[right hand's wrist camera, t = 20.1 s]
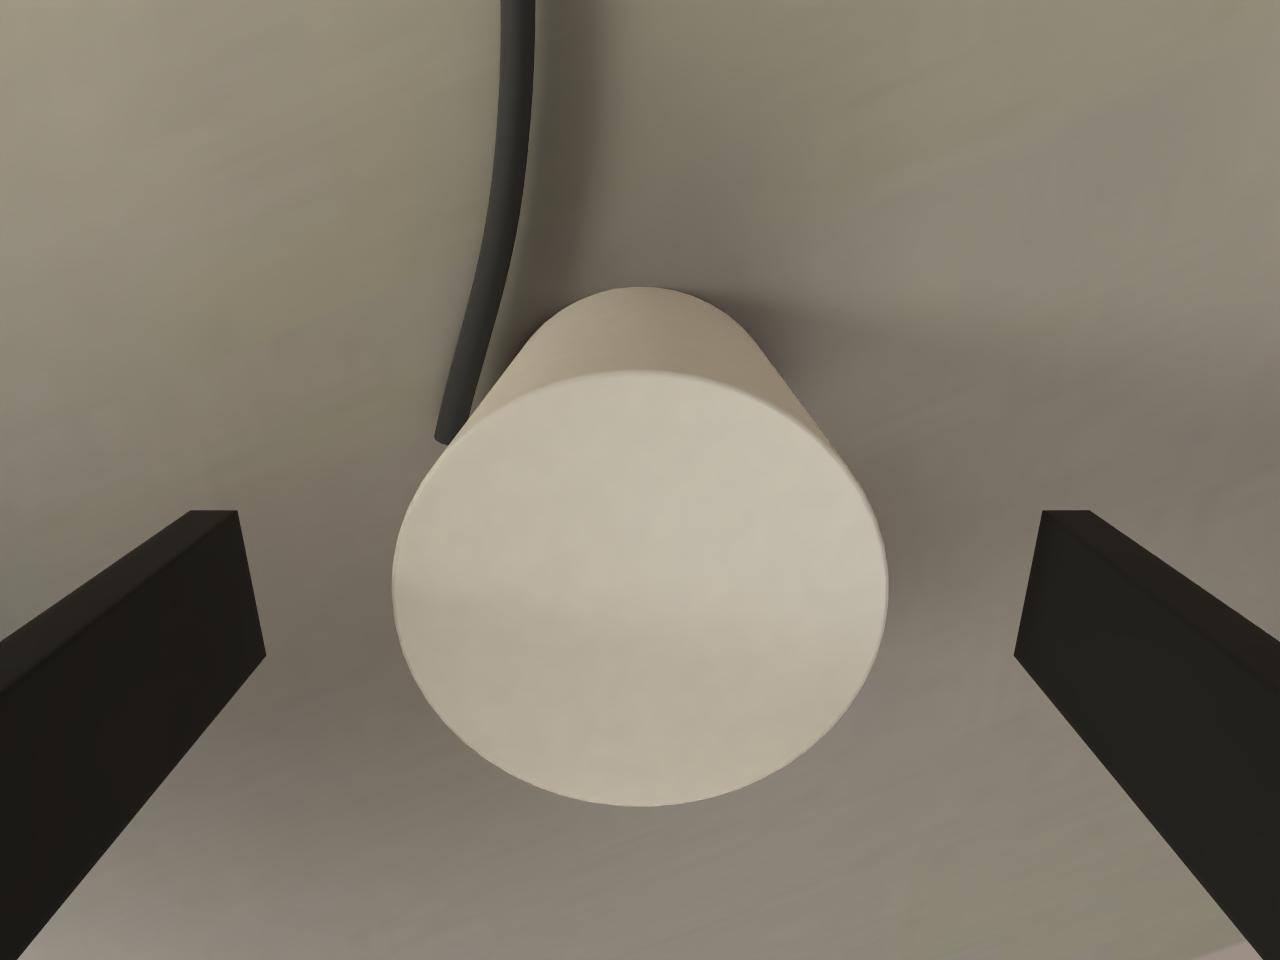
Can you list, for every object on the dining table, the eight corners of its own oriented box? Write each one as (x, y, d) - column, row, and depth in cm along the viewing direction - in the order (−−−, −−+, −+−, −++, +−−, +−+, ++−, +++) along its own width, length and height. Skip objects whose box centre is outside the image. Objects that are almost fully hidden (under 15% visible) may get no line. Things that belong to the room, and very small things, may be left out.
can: (714, 233, 18) (781, 273, 9) (822, 492, 20) (954, 713, 12) (447, 363, 19) (288, 505, 11) (579, 595, 21) (537, 864, 13)
